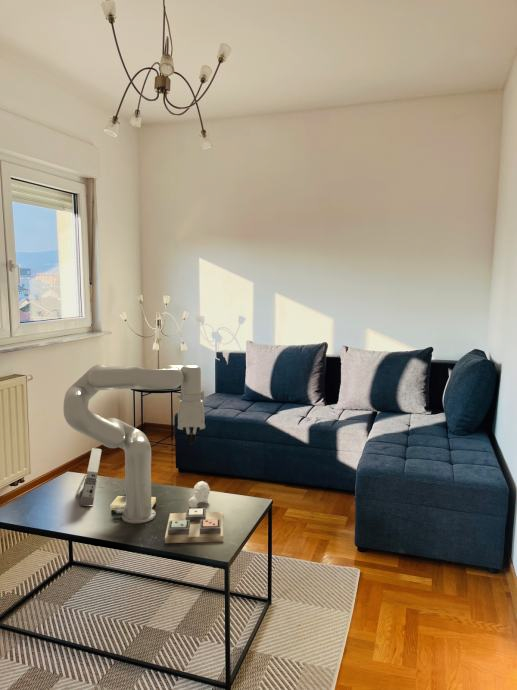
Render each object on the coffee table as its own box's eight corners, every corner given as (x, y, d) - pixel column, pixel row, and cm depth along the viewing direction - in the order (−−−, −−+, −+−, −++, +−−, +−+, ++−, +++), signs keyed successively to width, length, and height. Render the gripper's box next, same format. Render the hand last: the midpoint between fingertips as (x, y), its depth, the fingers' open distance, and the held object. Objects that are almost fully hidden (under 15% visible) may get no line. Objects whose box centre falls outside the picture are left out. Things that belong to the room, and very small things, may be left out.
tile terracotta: (202, 531, 187) (202, 525, 187) (203, 525, 192) (203, 519, 192) (217, 531, 187) (217, 525, 187) (217, 524, 192) (217, 519, 192)
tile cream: (188, 519, 196) (188, 514, 196) (189, 513, 202) (189, 508, 201) (202, 519, 197) (202, 513, 197) (203, 513, 202) (203, 508, 202)
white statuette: (210, 480, 219) (196, 493, 208) (211, 499, 221) (198, 513, 210) (197, 478, 221) (182, 491, 210) (198, 497, 223) (183, 511, 212)
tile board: (164, 543, 183) (164, 532, 183) (170, 518, 203) (169, 508, 203) (223, 541, 185) (223, 530, 184) (222, 516, 205) (222, 506, 204)
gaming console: (77, 489, 232) (85, 444, 231) (94, 491, 234) (103, 447, 233) (71, 510, 210) (81, 461, 209) (91, 512, 212) (100, 464, 211)
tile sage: (171, 532, 186) (171, 526, 186) (172, 526, 191) (172, 520, 191) (186, 532, 186) (186, 526, 186) (187, 525, 192) (186, 519, 191)
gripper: (170, 399, 202) (171, 446, 204) (210, 399, 203) (210, 446, 205) (172, 395, 209) (173, 441, 211) (210, 395, 210) (210, 440, 212)
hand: (191, 443), depth 208 cm, fingers closed
